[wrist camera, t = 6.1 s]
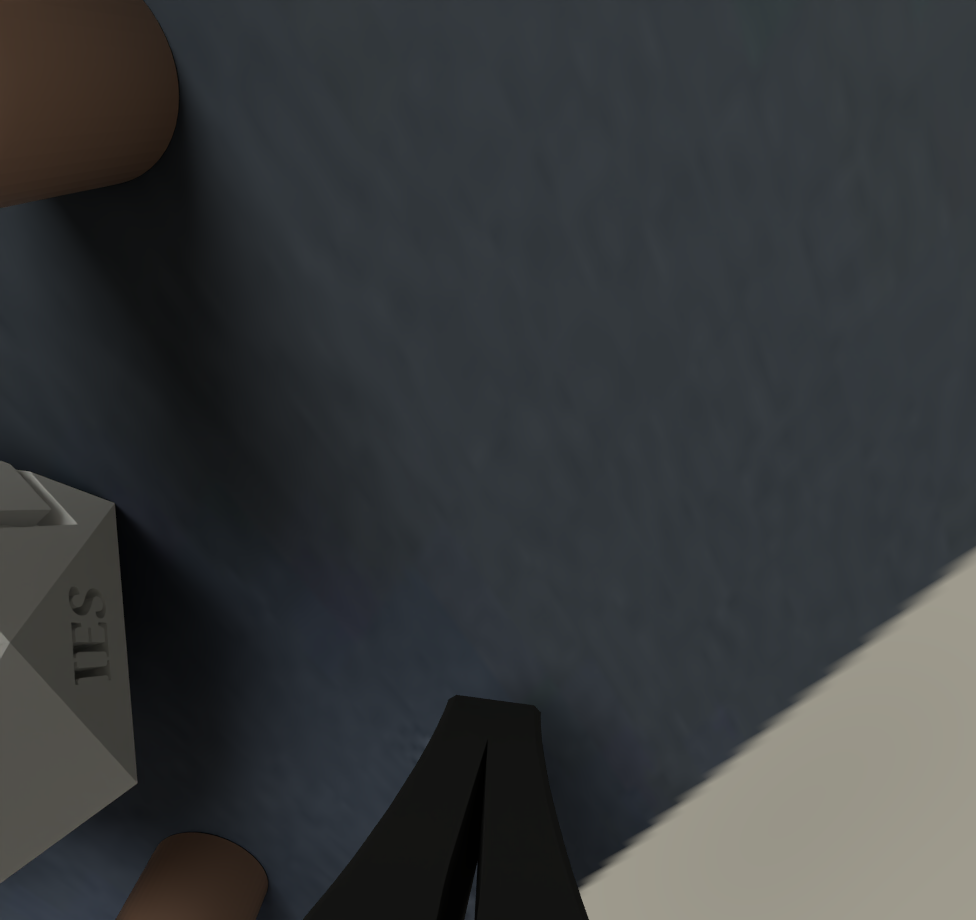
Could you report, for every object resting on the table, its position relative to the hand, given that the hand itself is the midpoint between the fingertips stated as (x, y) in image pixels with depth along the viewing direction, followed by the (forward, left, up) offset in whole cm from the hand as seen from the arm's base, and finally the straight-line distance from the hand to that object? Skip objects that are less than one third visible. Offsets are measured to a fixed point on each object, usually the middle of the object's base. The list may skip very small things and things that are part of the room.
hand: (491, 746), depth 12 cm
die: (0, +10, -3) cm, 11 cm away
